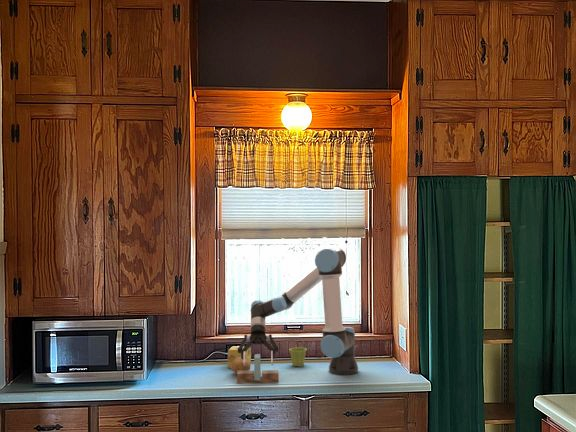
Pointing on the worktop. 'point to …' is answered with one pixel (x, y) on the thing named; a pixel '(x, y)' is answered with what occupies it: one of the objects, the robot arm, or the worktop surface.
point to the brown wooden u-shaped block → (267, 377)
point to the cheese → (237, 355)
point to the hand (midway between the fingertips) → (258, 364)
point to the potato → (240, 365)
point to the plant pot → (298, 356)
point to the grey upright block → (257, 367)
